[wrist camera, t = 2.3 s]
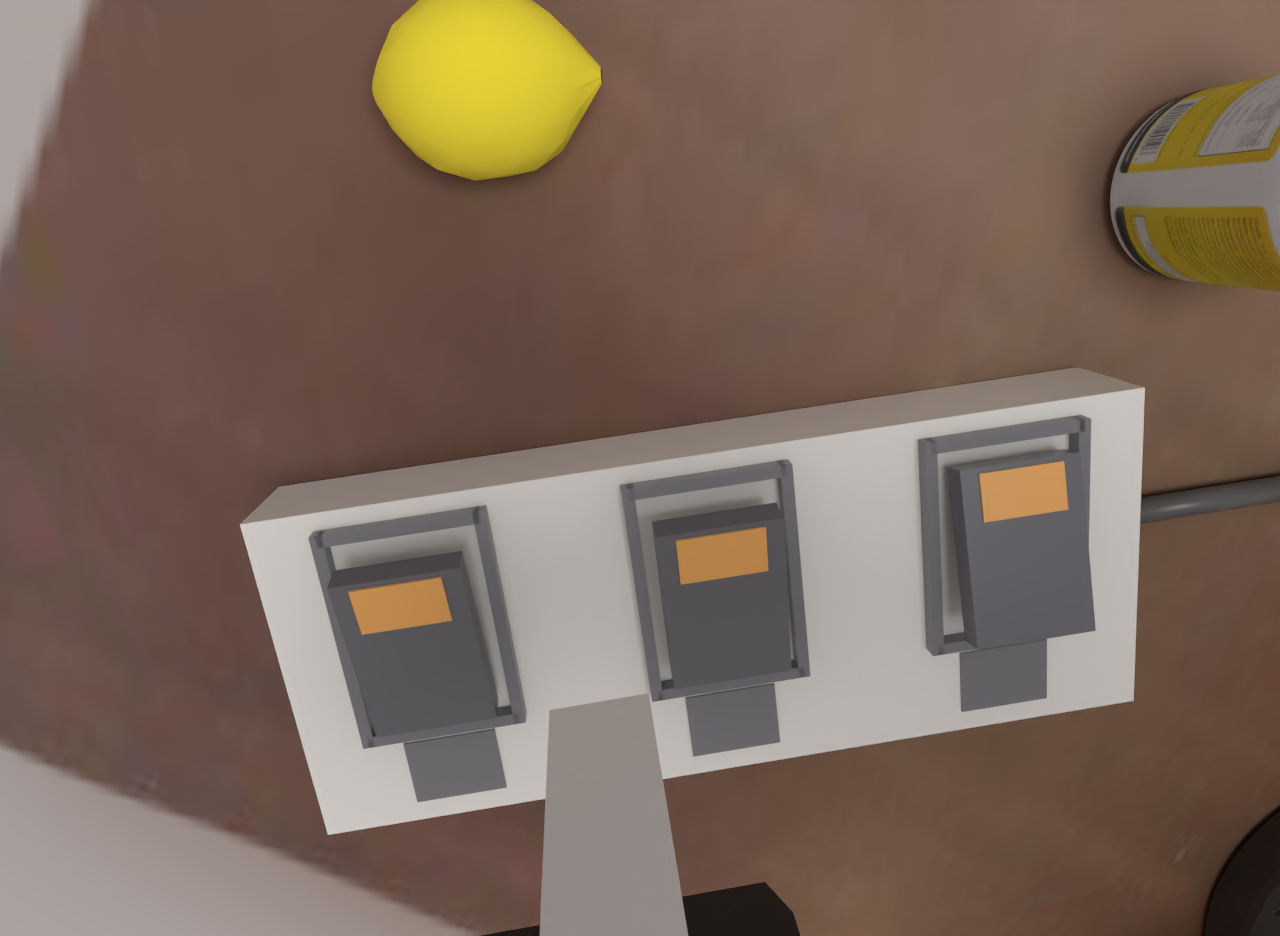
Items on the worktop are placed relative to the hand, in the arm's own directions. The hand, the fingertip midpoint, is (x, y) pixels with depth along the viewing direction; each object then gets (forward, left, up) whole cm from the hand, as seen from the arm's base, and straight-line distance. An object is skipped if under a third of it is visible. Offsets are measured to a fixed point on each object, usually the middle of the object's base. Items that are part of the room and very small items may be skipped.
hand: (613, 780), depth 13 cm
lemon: (+12, +1, -20) cm, 24 cm away
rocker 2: (-4, -14, -15) cm, 21 cm away
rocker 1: (-4, +6, -15) cm, 17 cm away
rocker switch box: (-6, -9, -20) cm, 23 cm away
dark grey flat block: (-4, -4, -15) cm, 16 cm away
